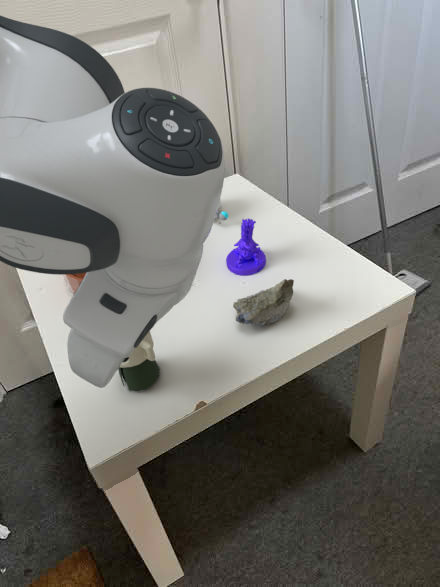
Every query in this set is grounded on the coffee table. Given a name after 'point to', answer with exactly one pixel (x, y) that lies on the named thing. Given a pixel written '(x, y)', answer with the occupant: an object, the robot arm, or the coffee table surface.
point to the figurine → (246, 253)
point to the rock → (265, 304)
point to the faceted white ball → (223, 214)
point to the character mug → (140, 366)
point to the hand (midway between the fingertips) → (139, 322)
